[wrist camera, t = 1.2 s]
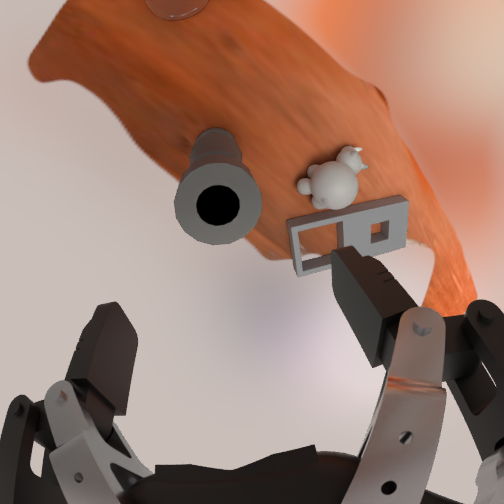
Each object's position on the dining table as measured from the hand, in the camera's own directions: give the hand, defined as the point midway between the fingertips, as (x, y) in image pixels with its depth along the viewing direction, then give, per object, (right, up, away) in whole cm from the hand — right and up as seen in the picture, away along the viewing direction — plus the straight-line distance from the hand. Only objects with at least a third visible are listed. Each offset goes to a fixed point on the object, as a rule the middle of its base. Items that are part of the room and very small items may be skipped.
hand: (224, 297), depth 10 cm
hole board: (+19, +6, +39) cm, 44 cm away
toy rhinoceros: (+13, +15, +33) cm, 39 cm away
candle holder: (-4, +17, +29) cm, 34 cm away
